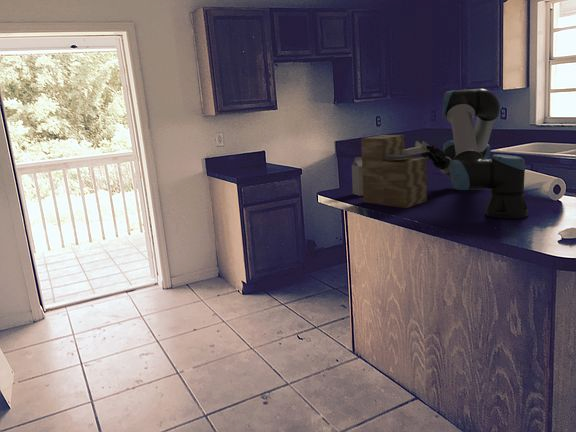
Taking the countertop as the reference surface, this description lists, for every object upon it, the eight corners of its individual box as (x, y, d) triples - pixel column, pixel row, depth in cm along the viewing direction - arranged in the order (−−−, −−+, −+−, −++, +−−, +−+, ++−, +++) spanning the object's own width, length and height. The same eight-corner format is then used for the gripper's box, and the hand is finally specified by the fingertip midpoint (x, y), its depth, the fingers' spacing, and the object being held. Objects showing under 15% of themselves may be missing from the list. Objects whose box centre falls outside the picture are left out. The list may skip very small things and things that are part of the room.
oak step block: (384, 196, 245) (383, 134, 238) (426, 201, 228) (426, 135, 221) (363, 202, 235) (361, 138, 228) (405, 208, 217) (404, 139, 211)
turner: (402, 159, 213) (401, 152, 212) (383, 158, 220) (383, 152, 219) (437, 151, 230) (437, 145, 229) (418, 150, 237) (418, 144, 236)
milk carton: (371, 194, 252) (370, 157, 247) (359, 196, 249) (358, 158, 245) (364, 192, 258) (363, 155, 254) (352, 194, 256) (351, 157, 251)
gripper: (456, 171, 237) (432, 151, 222) (427, 169, 249) (402, 150, 234) (460, 156, 238) (436, 136, 223) (431, 155, 250) (406, 136, 234)
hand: (419, 143), depth 228 cm, fingers closed on turner, 3 cm apart
